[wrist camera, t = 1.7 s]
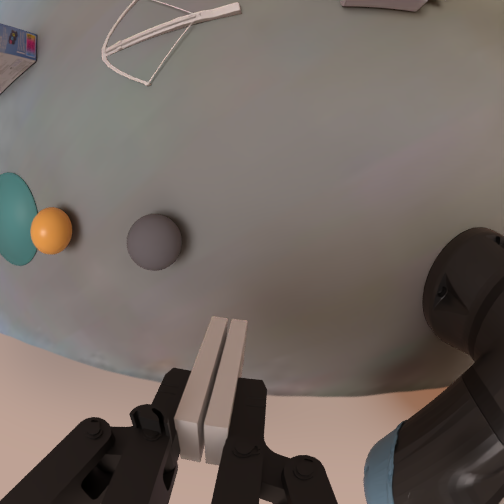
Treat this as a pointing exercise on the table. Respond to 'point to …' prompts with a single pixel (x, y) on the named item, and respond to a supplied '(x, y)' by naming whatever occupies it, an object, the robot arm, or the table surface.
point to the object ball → (51, 230)
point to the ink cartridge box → (15, 53)
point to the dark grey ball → (154, 242)
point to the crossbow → (164, 31)
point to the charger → (387, 4)
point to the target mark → (16, 219)
